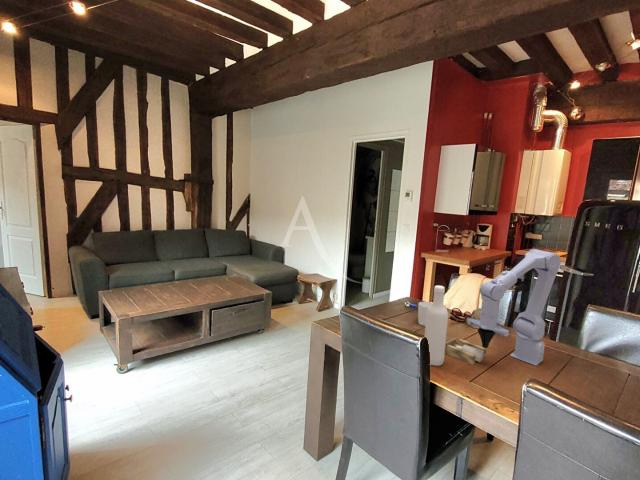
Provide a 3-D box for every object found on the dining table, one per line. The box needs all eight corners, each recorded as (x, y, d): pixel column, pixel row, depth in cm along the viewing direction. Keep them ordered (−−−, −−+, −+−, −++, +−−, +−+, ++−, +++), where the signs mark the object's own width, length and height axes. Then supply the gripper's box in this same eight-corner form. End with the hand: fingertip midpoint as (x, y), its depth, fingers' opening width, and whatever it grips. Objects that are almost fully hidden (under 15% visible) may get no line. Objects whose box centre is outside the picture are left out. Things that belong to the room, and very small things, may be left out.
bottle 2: (483, 348, 129) (456, 339, 136) (478, 357, 127) (451, 347, 134) (484, 355, 131) (458, 346, 139) (480, 364, 129) (453, 354, 136)
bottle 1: (445, 367, 124) (452, 290, 120) (423, 364, 126) (430, 288, 121) (441, 357, 132) (448, 284, 127) (421, 354, 134) (427, 282, 129)
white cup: (413, 321, 167) (415, 302, 166) (425, 319, 171) (427, 301, 169) (424, 327, 160) (426, 308, 159) (436, 325, 163) (438, 306, 162)
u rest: (485, 356, 133) (486, 348, 133) (472, 364, 127) (473, 356, 126) (452, 343, 144) (453, 336, 144) (439, 350, 137) (440, 342, 137)
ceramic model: (493, 323, 168) (496, 305, 167) (501, 333, 157) (503, 313, 156) (464, 320, 171) (466, 302, 169) (469, 329, 160) (471, 310, 158)
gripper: (465, 310, 129) (462, 342, 131) (505, 322, 118) (500, 357, 120) (474, 306, 133) (470, 338, 135) (512, 317, 122) (508, 352, 124)
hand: (485, 347), depth 128 cm, fingers closed
